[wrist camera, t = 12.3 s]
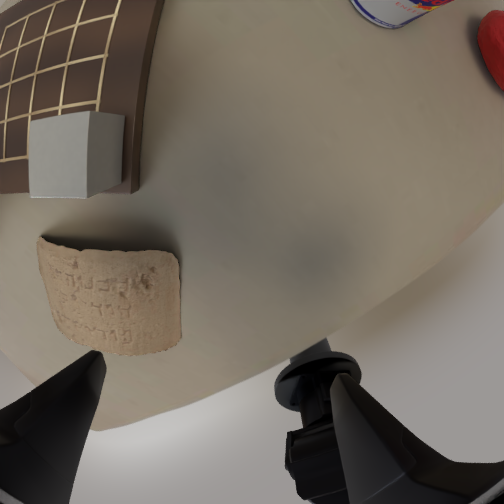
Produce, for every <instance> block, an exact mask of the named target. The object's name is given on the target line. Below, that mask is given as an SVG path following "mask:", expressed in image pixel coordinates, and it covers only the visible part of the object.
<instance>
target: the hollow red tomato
mask: <svg viewBox="0 0 504 504" xmlns="http://www.w3.org/2000/svg"><path fill="white" fill-rule="evenodd" d="M477 38H478V44H479V48H480V51H481V53H482V56H483V58H484V61H485V63H486V66H487V68H488V70H489V72H490V73H491V75H492V76H493V78H494V80H495V81H496V83H497V84H498V86H499V87H500V88H501V89H502V90H503V91H504V11H499V10H494V11H491V12H489V13H488V14H487V15H486V16H485V17H484V18H483V19H482V21H481V24H480V26H479V28H478V35H477Z"/></svg>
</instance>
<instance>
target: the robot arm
mask: <svg viewBox="0 0 504 504" xmlns="http://www.w3.org/2000/svg"><path fill="white" fill-rule="evenodd" d="M105 375H106V364H105V361H104V357H103V354H102V353H101V352H99V351H95V350H91V351H89V352H88V353H86V354H85V355H83V356H82V357H81V358H79V359H78V360H76V361H75V362H73V363H72V364H70V365H69V366H67V367H66V368H64V369H63V370H61V371H60V372H58V373H57V374H55V375H54V376H52V377H51V378H49V379H48V380H47V381H45V382H44V383H42V384H41V385H39V386H38V387H36V388H35V389H33V390H32V391H31V392H29V393H27V394H26V395H24V396H23V397H21V398H20V399H18V400H17V401H15V402H13V403H12V404H10V405H8V406H6V407H4V408H3V409H1V410H0V504H69V500H70V496H71V492H72V488H73V483H74V480H75V476H76V472H77V468H78V465H79V461H80V458H81V455H82V451H83V448H84V445H85V441H86V438H87V435H88V432H89V429H90V426H91V423H92V420H93V417H94V414H95V412H96V409H97V406H98V403H99V399H100V395H101V390H102V386H103V382H104V378H105ZM351 375H352V374H351V371H350V370H343V371H313V372H301V373H300V374H299V377H298V379H297V382H296V385H295V388H294V391H293V393H292V396H291V399H290V402H289V403H290V406H299V408H300V413H301V419H302V424H303V428H302V429H299V430H295V431H290V432H287V439H286V453H285V469H286V470H288V471H289V473H290V475H291V477H292V478H293V479H294V480H295V482H296V490H297V494H298V495H299V496H300V497H301V498H302V499H303V500H308V501H309V502H311V503H312V504H504V461H501V462H497V463H463V462H454V461H452V460H449V459H447V458H446V457H444V456H443V455H441V454H440V453H438V452H437V451H435V450H434V449H433V448H431V447H429V446H428V445H427V444H425V443H424V442H423V441H421V440H420V439H419V438H418V437H416V436H415V435H414V434H413V433H412V432H411V431H409V430H408V429H407V428H406V427H404V425H403V424H402V423H400V422H399V421H398V420H397V419H396V418H395V417H394V416H393V415H392V414H391V413H389V412H388V411H387V410H386V409H385V408H384V407H383V406H382V405H381V404H380V403H379V402H378V401H376V400H375V399H374V398H373V397H372V396H371V395H370V394H369V393H368V392H367V391H366V390H365V389H364V388H362V387H361V386H360V385H359V384H358V383H357V382H356V381H355V380H354V379H353V378H352V377H351Z"/></svg>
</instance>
